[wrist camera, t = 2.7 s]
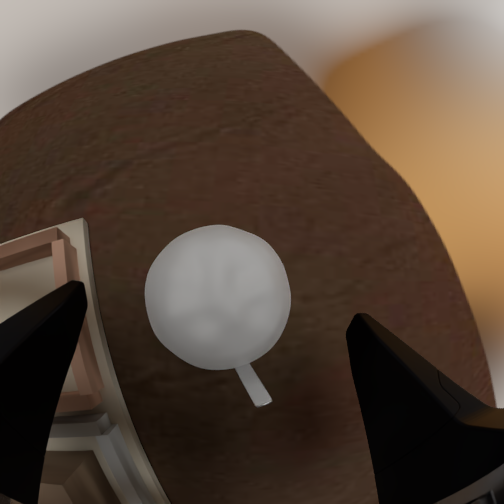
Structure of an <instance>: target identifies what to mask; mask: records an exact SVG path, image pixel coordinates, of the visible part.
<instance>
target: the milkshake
mask: <svg viewBox="0 0 504 504" xmlns="http://www.w3.org/2000/svg"><path fill="white" fill-rule="evenodd" d="M145 303H146V309H147V313H148V317H149V321H150V324H151V327H152V329H153V331H154V333H155V335H156V336H157V338H158V339H159V340H160V342H161V343H162V344H163V345H164V346H165V347H166V348H167V349H169V350H170V351H171V352H172V353H174V354H175V355H176V356H178V357H179V358H181V359H182V360H184V361H185V362H187V363H189V364H191V365H193V366H196V367H199V368H203V369H209V370H225V369H232V368H235V370H236V372H237V374H238V376H239V377H240V379H241V381H242V383H243V385H244V387H245V389H246V391H247V392H248V394H249V396H250V398H251V400H252V402H253V403H254V405H255V406H256V407H261V406H264V405H267V404H269V403H272V402H273V399H272V398H271V396H270V394H269V393H268V391H267V390H266V388H265V387H264V385H263V384H262V382H261V381H260V379H259V378H258V376H257V374H256V373H255V371H254V370H253V368H252V366H251V365H250V362H252V361H254V360H256V359H258V358H259V357H261V356H262V355H264V354H265V353H266V352H268V351H269V350H270V349H271V348H272V347H273V346H274V344H275V343H276V342H277V341H278V339H279V337H280V336H281V334H282V332H283V330H284V328H285V325H286V323H287V320H288V316H289V312H290V306H291V293H290V287H289V283H288V279H287V275H286V272H285V269H284V266H283V264H282V262H281V260H280V258H279V257H278V255H277V254H276V252H275V251H274V250H273V249H272V247H271V246H270V245H269V244H268V243H267V242H266V241H264V240H263V239H261V238H260V237H258V236H256V235H254V234H251V233H249V232H246V231H243V230H240V229H237V228H234V227H231V226H226V225H211V226H205V227H200V228H197V229H194V230H191V231H188V232H186V233H184V234H182V235H180V236H179V237H177V238H176V239H174V240H173V241H172V242H170V243H169V244H168V245H167V246H166V247H165V248H164V249H163V250H162V251H161V253H160V254H159V255H158V256H157V258H156V259H155V261H154V262H153V264H152V266H151V268H150V270H149V272H148V275H147V279H146V284H145Z"/></svg>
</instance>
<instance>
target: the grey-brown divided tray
mask: <svg viewBox="0 0 504 504" xmlns="http://www.w3.org/2000/svg"><path fill="white" fill-rule="evenodd" d="M71 280H77V281H82V282H83V283H84V285H85V290H86V295H87V300H88V308H87V312H86V315H85V318H84V322H83V325H82V329H81V333H80V336H79V340H78V344H77V347H76V350H75V353H74V356H73V359H72V362H71V364H70V367H69V370H68V373H67V376H66V379H65V382H64V385H63V388H62V392H61V395H60V398H59V401H58V405H57V408H56V412H55V416H54V419H53V423H52V427H51V431H50V435H49V440H48V444H47V449H46V454H45V456H44V457H45V460H44V465H43V471H42V477H41V483H40V490H39V499H38V504H171V503H170V501H169V500H168V498H167V496H166V494H165V492H164V491H163V489H162V487H161V485H160V483H159V481H158V479H157V477H156V475H155V473H154V471H153V469H152V467H151V465H150V463H149V461H148V459H147V456H146V454H145V452H144V450H143V447H142V445H141V443H140V440H139V438H138V436H137V433H136V431H135V428H134V426H133V423H132V421H131V418H130V415H129V413H128V410H127V407H126V404H125V401H124V399H123V396H122V393H121V390H120V387H119V383H118V380H117V377H116V374H115V370H114V367H113V363H112V360H111V356H110V353H109V349H108V345H107V341H106V337H105V333H104V328H103V324H102V319H101V314H100V310H99V304H98V299H97V294H96V288H95V282H94V275H93V268H92V261H91V253H90V244H89V234H88V223H87V222H86V221H85V220H84V219H83V218H80V219H77V220H73V221H70V222H66V223H63V224H60V225H57V226H53V227H50V228H47V229H44V230H41V231H37V232H34V233H31V234H28V235H25V236H22V237H20V238H17V239H14V240H11V241H8V242H5V243H3V244H0V323H2V322H3V321H5V320H6V319H8V318H9V317H11V316H13V315H14V314H16V313H17V312H19V311H20V310H22V309H24V308H25V307H27V306H29V305H30V304H32V303H33V302H35V301H37V300H38V299H40V298H42V297H43V296H45V295H47V294H48V293H50V292H52V291H54V290H55V289H57V288H59V287H60V286H62V285H64V284H66V283H67V282H69V281H71ZM11 501H12V503H13V504H22V503H20V502H17V501H15V500H13V499H11Z"/></svg>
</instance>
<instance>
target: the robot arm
mask: <svg viewBox="0 0 504 504" xmlns="http://www.w3.org/2000/svg"><path fill="white" fill-rule="evenodd" d="M87 308H88V300H87V295H86V290H85V285H84V283H83V282H82V281H77V280H71V281H69V282H67V283H66V284H64V285H62V286H60V287H59V288H57V289H55V290H54V291H52V292H50V293H48V294H47V295H45V296H43V297H42V298H40V299H38V300H37V301H35V302H33V303H32V304H30V305H29V306H27V307H25V308H24V309H22V310H20V311H19V312H17V313H16V314H14V315H13V316H11V317H9V318H8V319H6V320H5V321H3V322H2V323H0V504H10V502H11V499H13V500H15V501H17V502H20V503H22V504H38V499H39V490H40V483H41V477H42V471H43V465H44V460H45V457H44V456H45V454H46V449H47V444H48V440H49V435H50V431H51V427H52V423H53V419H54V416H55V412H56V408H57V405H58V401H59V398H60V395H61V392H62V388H63V385H64V382H65V379H66V376H67V373H68V370H69V367H70V364H71V362H72V359H73V356H74V353H75V350H76V347H77V344H78V340H79V336H80V333H81V329H82V325H83V322H84V318H85V315H86V312H87ZM346 340H347V346H348V352H349V358H350V365H351V371H352V376H353V380H354V384H355V388H356V392H357V396H358V400H359V404H360V408H361V412H362V417H363V421H364V426H365V430H366V435H367V439H368V444H369V449H370V454H371V459H372V464H373V469H374V474H375V481H376V487H377V493H378V499H379V504H504V408H503V409H502V408H501V409H500V408H493V407H490V406H488V405H486V404H484V403H483V402H482V401H480V400H479V399H477V398H476V397H474V396H473V395H472V394H470V393H469V392H467V391H466V390H464V389H463V388H462V387H460V386H459V385H457V384H456V383H455V382H453V381H452V380H451V379H450V378H448V377H447V376H446V375H444V374H443V373H442V372H441V371H439V370H437V368H436V367H434V366H433V365H432V364H431V363H429V362H428V361H427V360H426V359H424V358H423V357H422V356H421V355H419V354H418V353H417V352H416V351H414V350H413V349H412V348H411V347H409V346H408V345H407V344H405V343H404V342H403V341H402V340H400V339H399V338H398V337H397V336H395V335H394V334H393V333H391V332H390V331H389V330H388V329H386V328H385V327H384V326H382V325H381V324H380V323H379V322H377V321H376V320H375V319H373V318H372V317H371V316H370V315H368V314H366V313H357V314H356V315H355V316H354V317H353V319H352V321H351V323H350V325H349V327H348V329H347V331H346Z"/></svg>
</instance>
